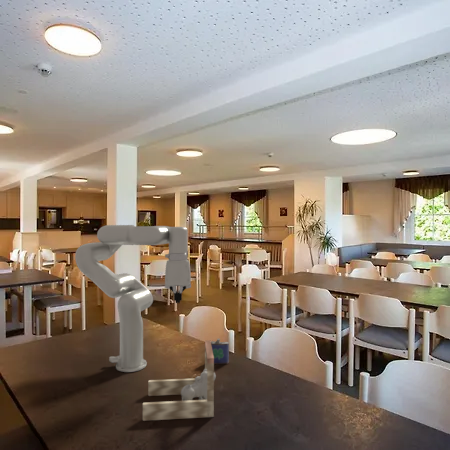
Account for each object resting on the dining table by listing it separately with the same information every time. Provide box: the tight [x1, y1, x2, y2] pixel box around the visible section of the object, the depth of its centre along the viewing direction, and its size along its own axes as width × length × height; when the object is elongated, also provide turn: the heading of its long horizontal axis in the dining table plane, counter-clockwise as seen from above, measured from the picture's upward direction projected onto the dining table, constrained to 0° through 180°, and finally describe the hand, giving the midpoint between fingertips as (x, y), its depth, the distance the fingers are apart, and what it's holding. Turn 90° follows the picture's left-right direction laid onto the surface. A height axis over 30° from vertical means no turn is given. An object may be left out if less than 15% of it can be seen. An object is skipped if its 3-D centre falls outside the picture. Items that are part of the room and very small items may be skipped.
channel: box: [142, 339, 215, 422], centre depth 116 cm, size 22×16×19 cm
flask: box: [211, 338, 230, 365], centre depth 150 cm, size 9×3×11 cm, turn 88°
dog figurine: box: [180, 368, 217, 401], centre depth 117 cm, size 5×13×11 cm, turn 127°
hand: (177, 302), depth 140 cm, fingers closed
